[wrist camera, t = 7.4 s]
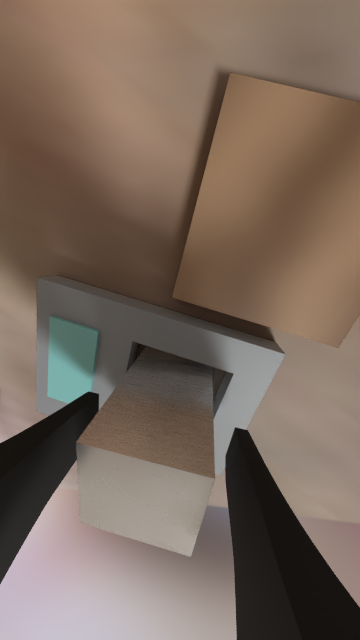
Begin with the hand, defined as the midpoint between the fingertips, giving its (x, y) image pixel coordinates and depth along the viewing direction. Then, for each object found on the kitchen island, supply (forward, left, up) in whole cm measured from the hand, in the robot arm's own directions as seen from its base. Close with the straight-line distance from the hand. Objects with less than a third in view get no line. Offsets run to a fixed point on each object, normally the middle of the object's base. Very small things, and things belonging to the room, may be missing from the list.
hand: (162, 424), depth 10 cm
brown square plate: (-3, -10, -3) cm, 11 cm away
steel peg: (0, 0, -4) cm, 4 cm away
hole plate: (+2, 0, -3) cm, 4 cm away
